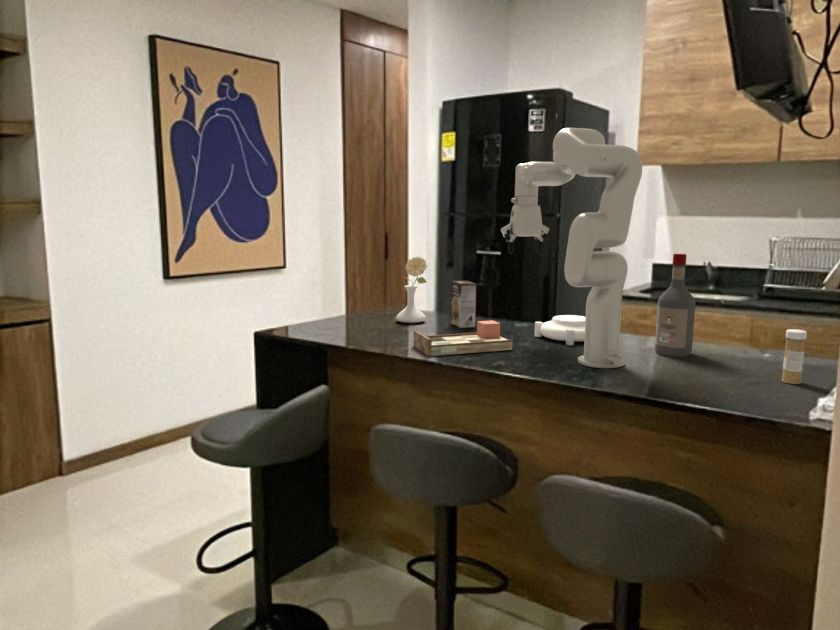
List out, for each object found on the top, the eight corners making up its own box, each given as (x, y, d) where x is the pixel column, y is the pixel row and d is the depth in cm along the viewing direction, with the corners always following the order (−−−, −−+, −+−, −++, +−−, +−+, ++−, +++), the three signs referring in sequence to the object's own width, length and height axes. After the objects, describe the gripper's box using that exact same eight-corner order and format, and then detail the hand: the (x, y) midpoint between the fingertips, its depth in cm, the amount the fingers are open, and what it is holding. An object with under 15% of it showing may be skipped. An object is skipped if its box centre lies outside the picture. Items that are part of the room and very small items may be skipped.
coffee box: (450, 323, 247) (451, 280, 244) (466, 322, 249) (467, 280, 246) (459, 328, 239) (459, 283, 236) (475, 327, 241) (476, 283, 238)
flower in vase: (389, 322, 249) (389, 256, 244) (408, 318, 258) (408, 254, 253) (417, 326, 241) (417, 258, 237) (435, 322, 250) (436, 256, 245)
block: (499, 337, 210) (500, 323, 209) (483, 338, 208) (484, 324, 208) (492, 333, 215) (492, 320, 215) (477, 334, 214) (477, 321, 213)
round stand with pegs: (531, 344, 214) (532, 322, 212) (537, 330, 236) (537, 310, 235) (608, 348, 208) (609, 326, 207) (606, 333, 231) (607, 313, 230)
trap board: (512, 349, 204) (512, 333, 203) (428, 356, 195) (428, 339, 194) (493, 340, 217) (493, 325, 216) (413, 346, 208) (413, 330, 207)
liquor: (681, 358, 193) (689, 255, 188) (651, 353, 199) (658, 254, 194) (694, 353, 200) (701, 254, 195) (664, 348, 206) (671, 252, 201)
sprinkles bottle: (784, 378, 171) (789, 328, 169) (803, 382, 168) (809, 330, 166) (778, 382, 168) (783, 330, 166) (798, 385, 165) (804, 332, 163)
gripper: (507, 201, 212) (505, 255, 215) (555, 202, 217) (552, 254, 220) (497, 201, 219) (496, 253, 222) (544, 201, 224) (542, 252, 227)
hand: (524, 253), depth 221 cm, fingers open, 9 cm apart
